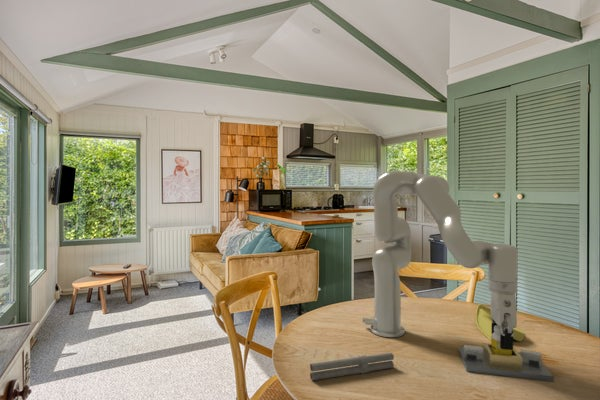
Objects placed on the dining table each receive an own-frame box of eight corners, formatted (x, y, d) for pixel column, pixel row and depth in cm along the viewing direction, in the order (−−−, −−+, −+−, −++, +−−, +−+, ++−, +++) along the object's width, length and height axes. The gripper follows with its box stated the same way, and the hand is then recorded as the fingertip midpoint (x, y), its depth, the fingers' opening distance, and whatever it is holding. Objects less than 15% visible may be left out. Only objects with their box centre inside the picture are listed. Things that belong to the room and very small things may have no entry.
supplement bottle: (490, 354, 112) (490, 323, 111) (510, 357, 109) (511, 325, 109) (491, 361, 107) (492, 329, 106) (512, 365, 104) (513, 332, 104)
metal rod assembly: (312, 383, 99) (312, 365, 98) (309, 378, 101) (309, 360, 101) (395, 370, 105) (395, 353, 105) (391, 366, 108) (391, 349, 108)
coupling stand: (466, 371, 104) (466, 356, 104) (458, 350, 118) (458, 337, 117) (553, 381, 98) (553, 365, 98) (534, 358, 112) (534, 344, 112)
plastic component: (528, 336, 123) (503, 324, 123) (518, 354, 124) (492, 342, 124) (498, 312, 143) (475, 302, 143) (489, 328, 144) (467, 317, 144)
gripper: (526, 294, 98) (525, 356, 99) (507, 279, 115) (507, 332, 115) (496, 292, 100) (495, 353, 100) (482, 278, 117) (481, 330, 117)
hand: (501, 342), depth 108 cm, fingers open, 9 cm apart
